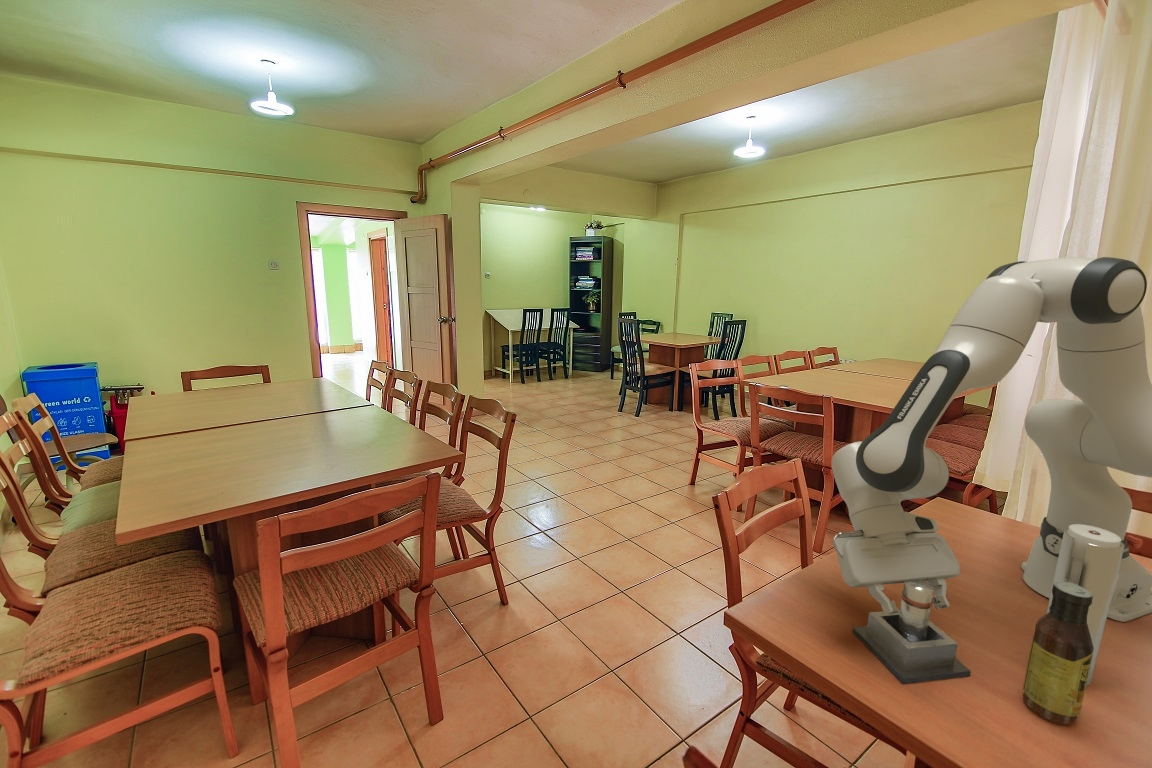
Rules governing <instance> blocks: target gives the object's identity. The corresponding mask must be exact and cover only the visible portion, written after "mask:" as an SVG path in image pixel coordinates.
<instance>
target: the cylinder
mask: <svg viewBox="0 0 1152 768" xmlns="http://www.w3.org/2000/svg"><path fill="white" fill-rule="evenodd" d="M902 589H903V590H902V592H901V601H900V602H901V603H900V609H899V610H900V616H899V623H898V630H897V632H898V633H899V634H900V635H901V636H902V637H903V638H904V639H906V640H907V641H908V642H909V643H912V642H921V641H925V640H926V634H927V628H928V621H929V620H930V616H931V615H930V613H931V608H932V606H933V603H932V601H933V600H932V598H933V595H934V587H932V586H931V585H930V584H929V582H928V581H923V580H920V579H912V580H905V581H904V583H903V588H902Z"/></svg>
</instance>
